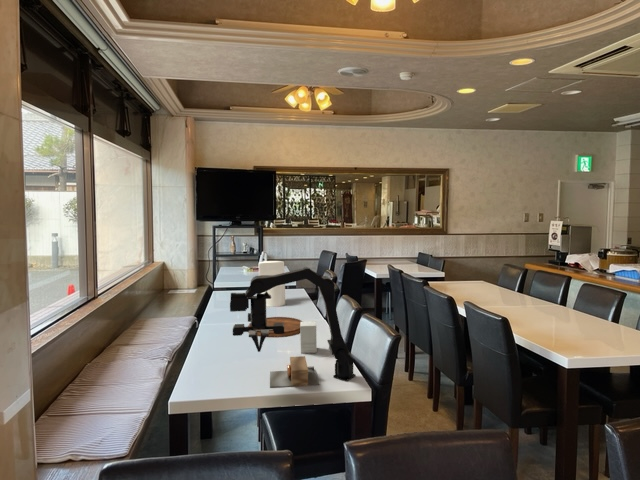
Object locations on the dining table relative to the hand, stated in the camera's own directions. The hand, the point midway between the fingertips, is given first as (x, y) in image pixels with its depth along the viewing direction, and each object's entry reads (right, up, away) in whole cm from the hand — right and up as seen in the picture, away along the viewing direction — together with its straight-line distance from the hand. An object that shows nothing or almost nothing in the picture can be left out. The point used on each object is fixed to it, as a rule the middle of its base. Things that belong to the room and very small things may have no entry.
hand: (259, 351), depth 157 cm
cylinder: (-9, -2, +126) cm, 126 cm away
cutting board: (-1, -7, +70) cm, 71 cm away
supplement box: (+17, -9, +36) cm, 41 cm away
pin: (+15, -11, +5) cm, 19 cm away
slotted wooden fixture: (+13, -12, +5) cm, 18 cm away
